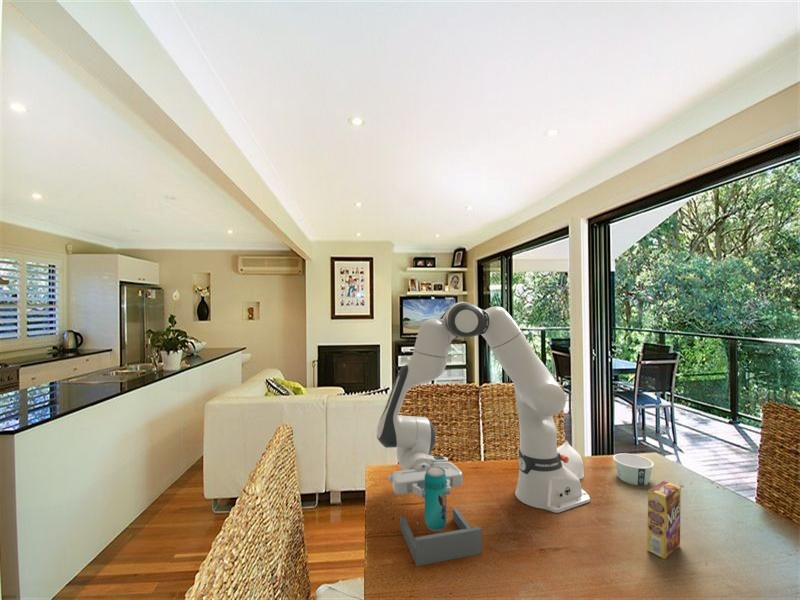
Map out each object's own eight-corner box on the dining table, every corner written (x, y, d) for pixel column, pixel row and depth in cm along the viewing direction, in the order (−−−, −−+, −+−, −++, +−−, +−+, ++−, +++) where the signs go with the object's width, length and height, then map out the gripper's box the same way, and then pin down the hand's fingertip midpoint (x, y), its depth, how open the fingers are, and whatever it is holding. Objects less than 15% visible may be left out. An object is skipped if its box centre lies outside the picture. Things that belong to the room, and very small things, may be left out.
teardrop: (563, 482, 129) (563, 447, 129) (544, 468, 140) (543, 436, 140) (591, 478, 132) (590, 443, 132) (569, 465, 142) (569, 433, 142)
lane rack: (456, 518, 108) (456, 497, 108) (481, 553, 93) (481, 529, 93) (400, 527, 104) (399, 505, 104) (416, 566, 88) (416, 540, 88)
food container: (607, 470, 138) (607, 452, 138) (643, 472, 136) (643, 454, 136) (622, 486, 126) (622, 466, 126) (661, 488, 124) (661, 468, 124)
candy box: (666, 560, 90) (665, 496, 90) (646, 551, 93) (645, 489, 93) (682, 547, 94) (681, 486, 95) (662, 538, 98) (661, 479, 98)
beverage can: (440, 536, 96) (440, 477, 96) (420, 528, 100) (420, 472, 99) (450, 524, 101) (450, 469, 101) (431, 517, 104) (431, 463, 104)
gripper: (386, 463, 111) (398, 486, 97) (451, 456, 116) (470, 476, 102) (386, 485, 111) (398, 510, 97) (451, 476, 116) (471, 499, 102)
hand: (436, 493), depth 100 cm, fingers closed on beverage can, 6 cm apart
